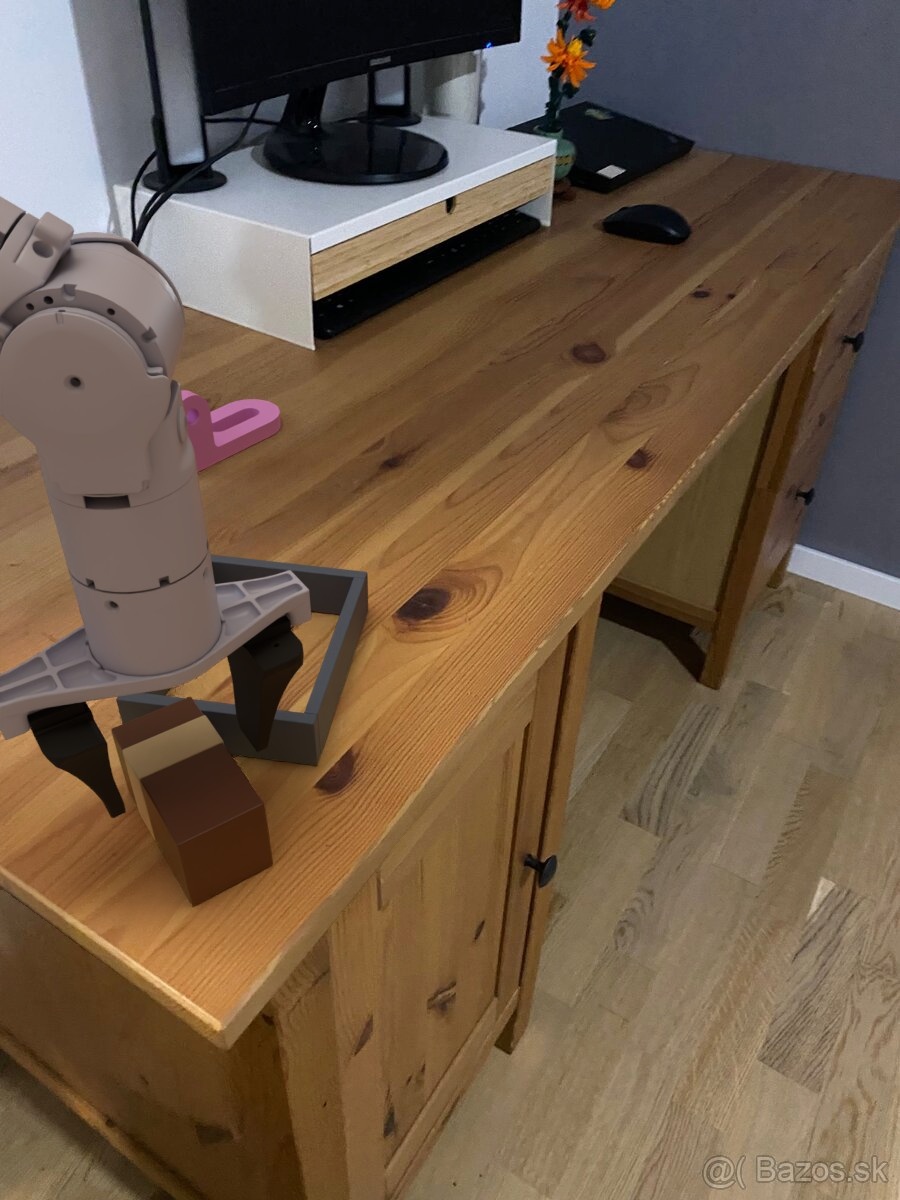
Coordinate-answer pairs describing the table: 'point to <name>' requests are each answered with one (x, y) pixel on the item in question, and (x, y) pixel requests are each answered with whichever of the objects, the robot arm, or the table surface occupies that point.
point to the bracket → (227, 426)
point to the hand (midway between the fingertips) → (185, 769)
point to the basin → (308, 731)
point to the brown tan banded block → (194, 799)
